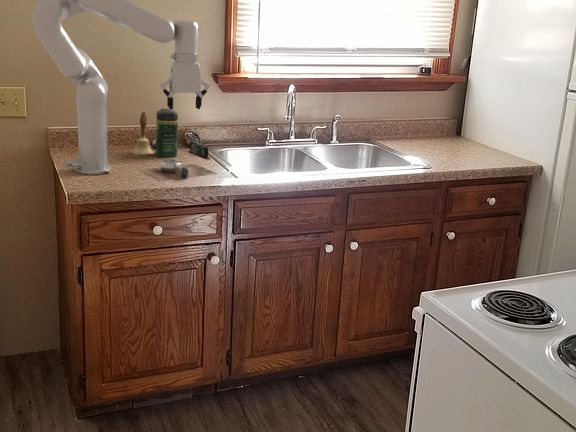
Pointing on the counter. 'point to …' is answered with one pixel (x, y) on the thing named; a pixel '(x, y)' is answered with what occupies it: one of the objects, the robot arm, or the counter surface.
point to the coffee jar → (166, 133)
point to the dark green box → (199, 149)
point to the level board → (192, 172)
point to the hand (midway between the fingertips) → (184, 108)
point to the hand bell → (142, 139)
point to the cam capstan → (174, 167)
